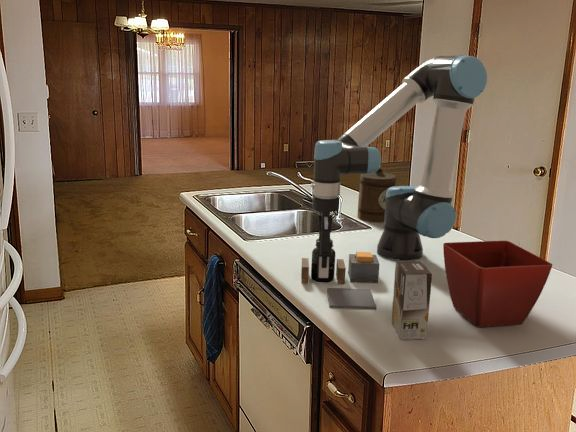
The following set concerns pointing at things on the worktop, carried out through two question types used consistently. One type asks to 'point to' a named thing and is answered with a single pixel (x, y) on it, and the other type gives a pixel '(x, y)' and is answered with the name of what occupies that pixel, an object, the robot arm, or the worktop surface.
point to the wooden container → (374, 195)
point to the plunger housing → (363, 270)
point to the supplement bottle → (316, 264)
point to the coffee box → (411, 299)
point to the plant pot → (494, 281)
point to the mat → (350, 298)
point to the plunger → (364, 257)
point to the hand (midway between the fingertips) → (322, 272)
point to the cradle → (339, 271)
